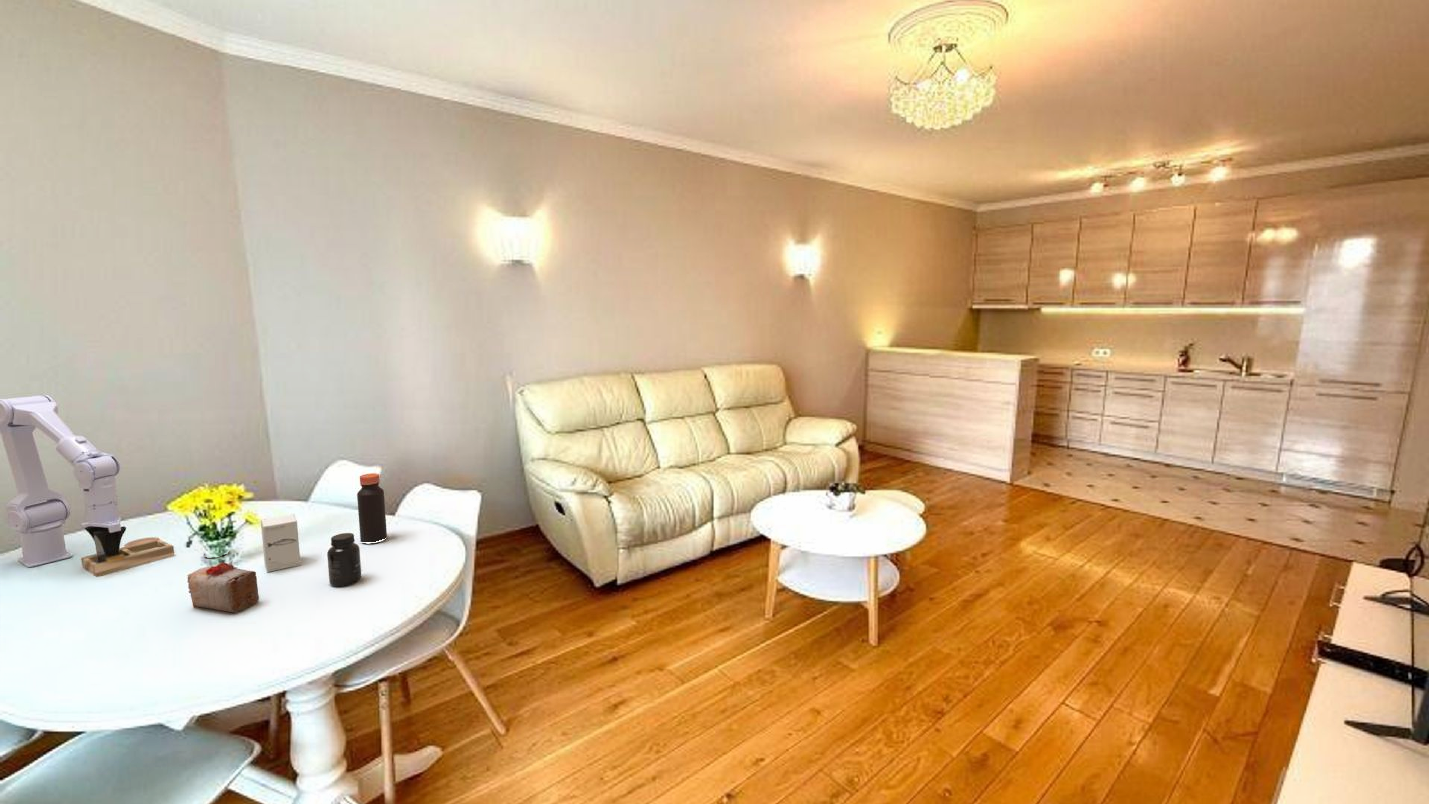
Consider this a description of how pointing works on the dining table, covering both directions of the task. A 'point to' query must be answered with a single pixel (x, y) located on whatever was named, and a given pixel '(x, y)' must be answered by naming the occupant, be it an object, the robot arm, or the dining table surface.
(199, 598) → the food item
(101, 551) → the cell
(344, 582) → the supplement bottle
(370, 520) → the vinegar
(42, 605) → the dining table surface
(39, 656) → the dining table surface
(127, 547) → the board
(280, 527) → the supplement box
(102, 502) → the robot arm
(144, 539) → the dish
